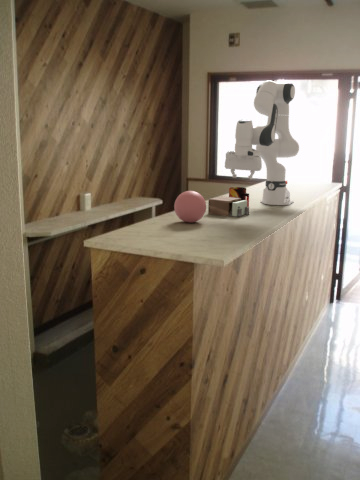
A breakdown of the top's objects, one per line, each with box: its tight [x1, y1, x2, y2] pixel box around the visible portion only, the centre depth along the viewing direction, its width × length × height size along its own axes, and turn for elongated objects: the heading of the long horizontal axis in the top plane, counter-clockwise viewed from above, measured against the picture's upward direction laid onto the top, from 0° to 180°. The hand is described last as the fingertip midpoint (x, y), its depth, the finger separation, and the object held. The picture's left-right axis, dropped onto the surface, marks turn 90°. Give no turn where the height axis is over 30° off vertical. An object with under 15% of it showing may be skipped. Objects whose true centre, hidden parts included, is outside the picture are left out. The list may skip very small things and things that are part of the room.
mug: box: [228, 186, 250, 208], centre depth 277 cm, size 10×14×12 cm
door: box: [231, 199, 247, 217], centre depth 258 cm, size 12×3×7 cm, turn 144°
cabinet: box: [207, 196, 250, 218], centre depth 262 cm, size 14×18×8 cm
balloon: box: [173, 190, 207, 224], centre depth 238 cm, size 15×20×15 cm
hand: (242, 178), depth 257 cm, fingers open, 8 cm apart
